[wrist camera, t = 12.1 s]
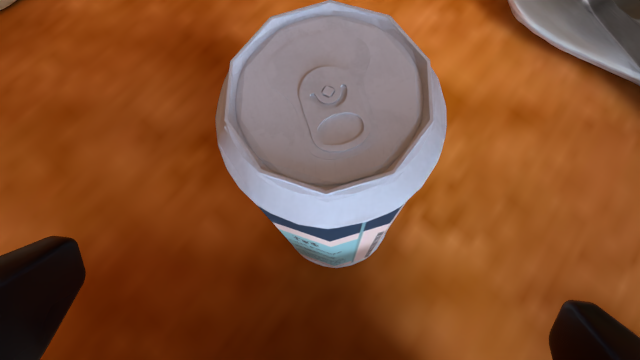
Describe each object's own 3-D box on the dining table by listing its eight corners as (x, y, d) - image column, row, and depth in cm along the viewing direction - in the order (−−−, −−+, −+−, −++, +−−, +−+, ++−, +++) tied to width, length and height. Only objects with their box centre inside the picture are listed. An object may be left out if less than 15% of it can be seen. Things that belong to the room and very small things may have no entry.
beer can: (368, 155, 20) (407, -44, 8) (402, 250, 18) (504, 170, 7) (273, 183, 20) (177, 21, 8) (300, 282, 18) (231, 253, 7)
